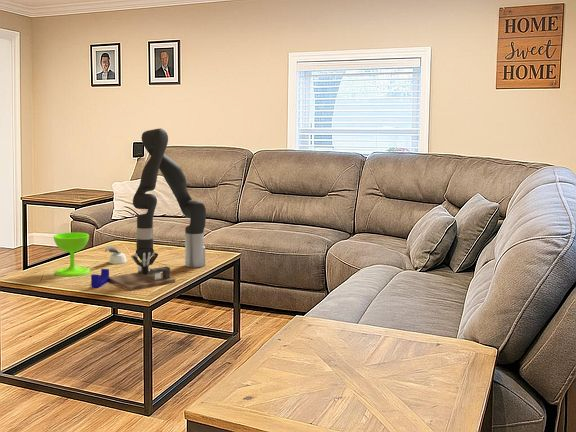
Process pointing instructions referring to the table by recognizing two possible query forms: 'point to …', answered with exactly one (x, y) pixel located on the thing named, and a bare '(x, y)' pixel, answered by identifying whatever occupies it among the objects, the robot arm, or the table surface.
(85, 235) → the wineglass
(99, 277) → the cable clip
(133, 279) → the board
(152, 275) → the link
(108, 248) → the inkwell
